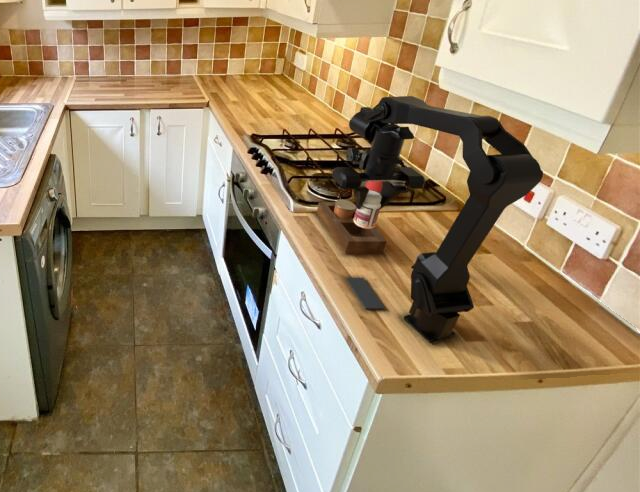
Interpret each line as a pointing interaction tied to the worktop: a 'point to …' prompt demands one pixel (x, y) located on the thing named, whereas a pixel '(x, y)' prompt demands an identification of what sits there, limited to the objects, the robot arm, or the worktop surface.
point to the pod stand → (350, 232)
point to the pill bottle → (368, 211)
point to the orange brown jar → (344, 209)
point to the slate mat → (365, 294)
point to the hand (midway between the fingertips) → (368, 208)
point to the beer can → (374, 186)
